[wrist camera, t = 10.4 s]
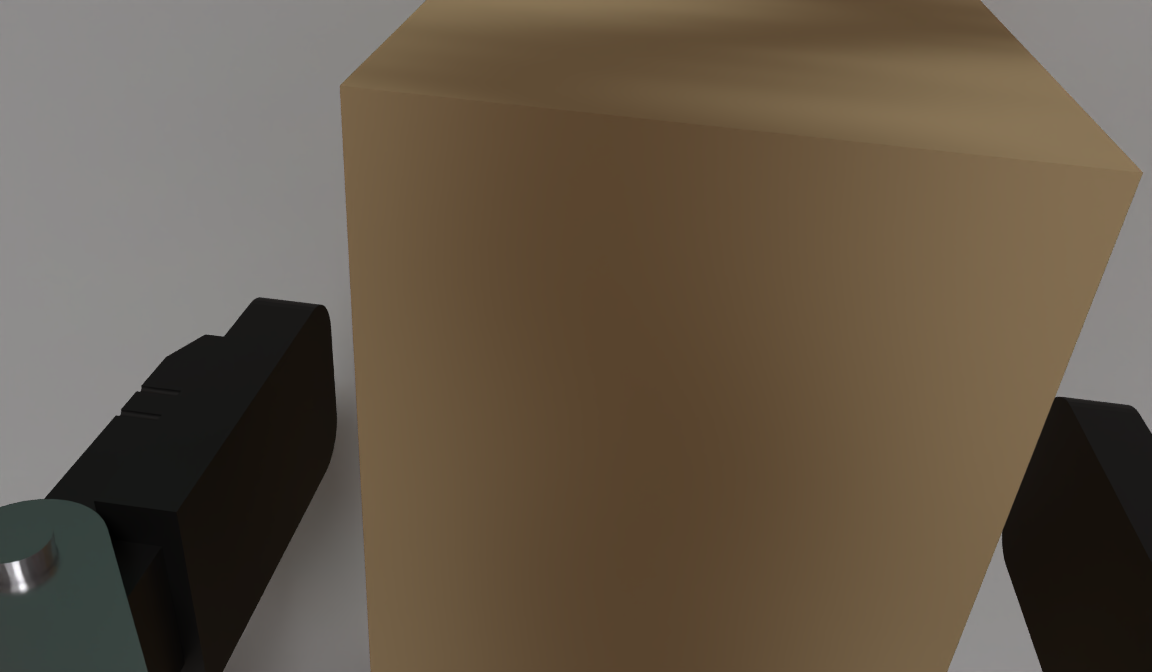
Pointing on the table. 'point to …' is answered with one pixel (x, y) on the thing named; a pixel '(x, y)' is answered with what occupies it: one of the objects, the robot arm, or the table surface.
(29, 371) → the table surface
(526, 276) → the block
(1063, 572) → the robot arm
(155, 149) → the table surface
